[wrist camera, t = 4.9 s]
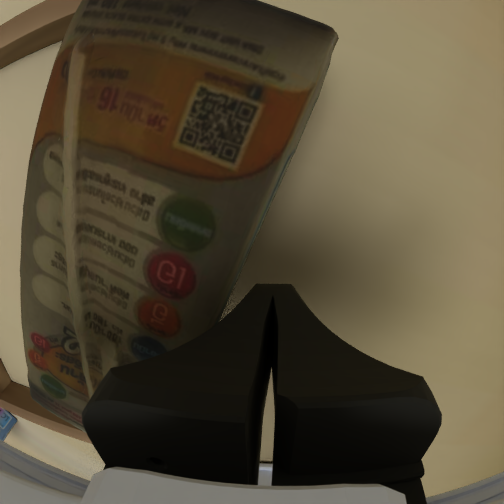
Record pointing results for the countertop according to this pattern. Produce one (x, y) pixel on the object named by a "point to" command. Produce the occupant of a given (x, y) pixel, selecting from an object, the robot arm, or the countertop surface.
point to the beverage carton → (154, 177)
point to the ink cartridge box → (5, 423)
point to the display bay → (3, 53)
